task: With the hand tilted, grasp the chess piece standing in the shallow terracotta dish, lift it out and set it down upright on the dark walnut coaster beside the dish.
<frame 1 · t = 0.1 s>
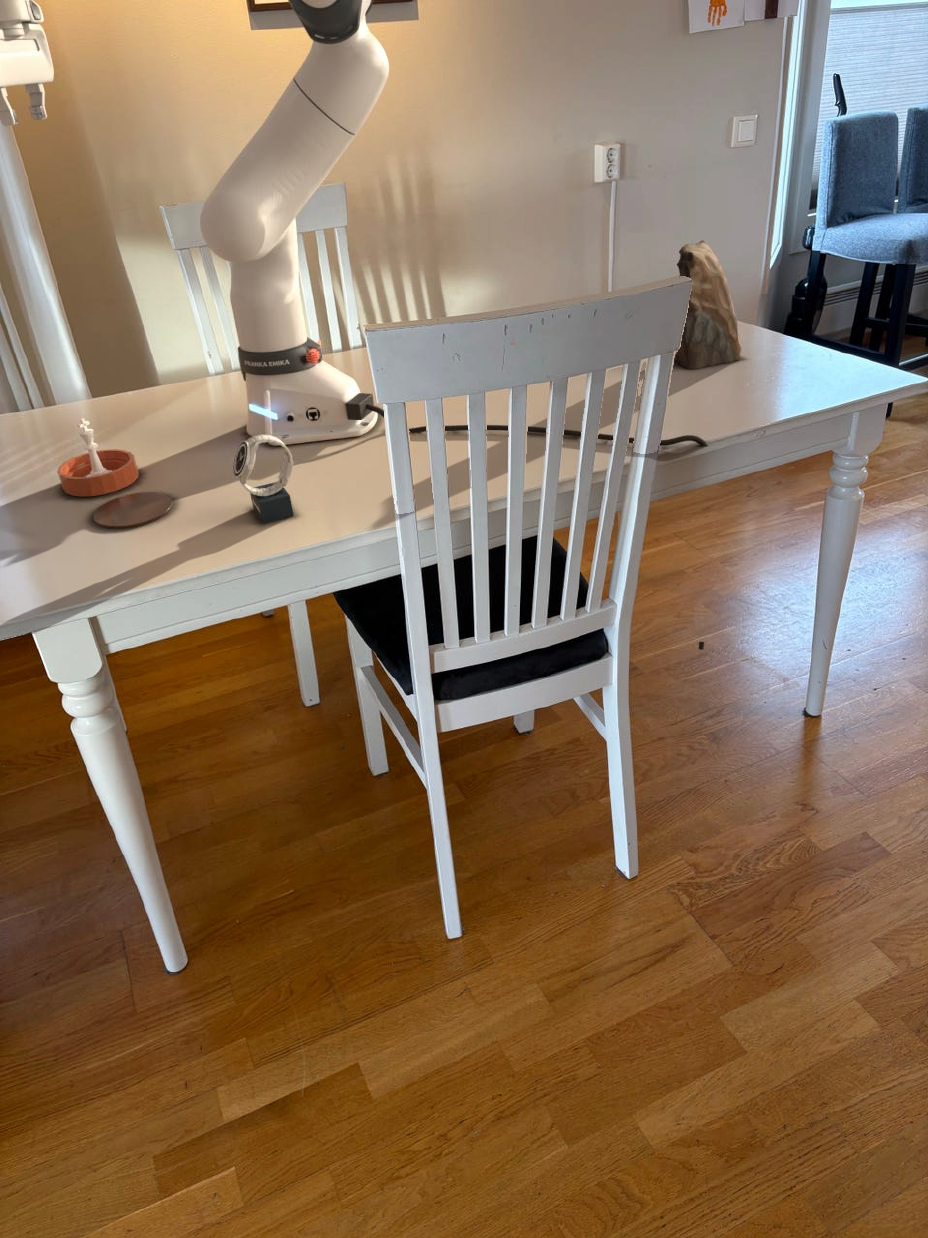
hand: (25, 122, 131), 48 cm above the table, tool pointing down, fingers open, 8 cm apart
dish: (101, 482, 139), on the table
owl: (704, 359, 170), on the table
coaster: (133, 511, 130), on the table
watch: (273, 513, 126), on the table
chess piece: (101, 481, 139), resting on dish
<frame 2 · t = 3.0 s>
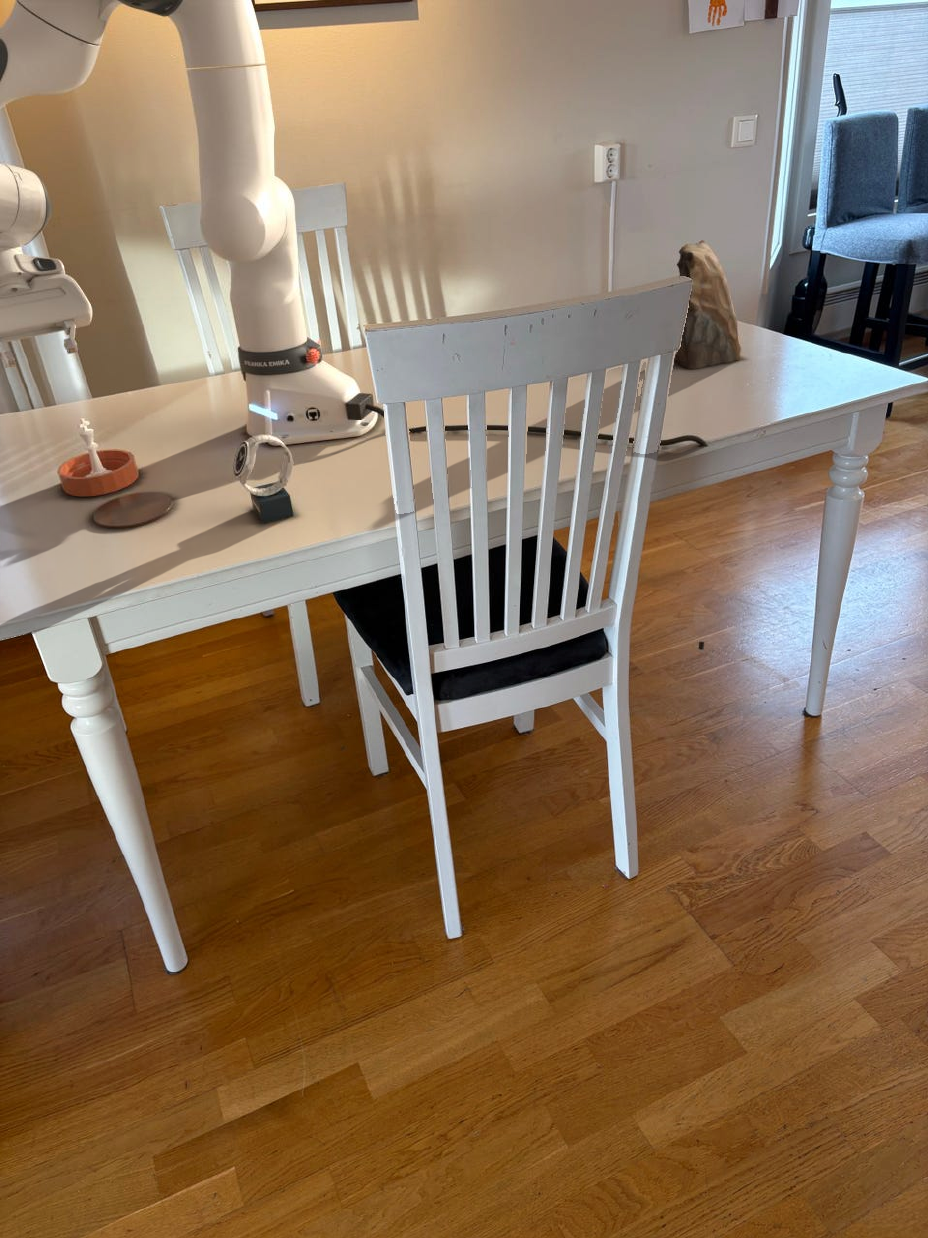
hand: (42, 357, 139), 17 cm above the table, tool tilted 45°, fingers open, 8 cm apart
nothing on the table moved.
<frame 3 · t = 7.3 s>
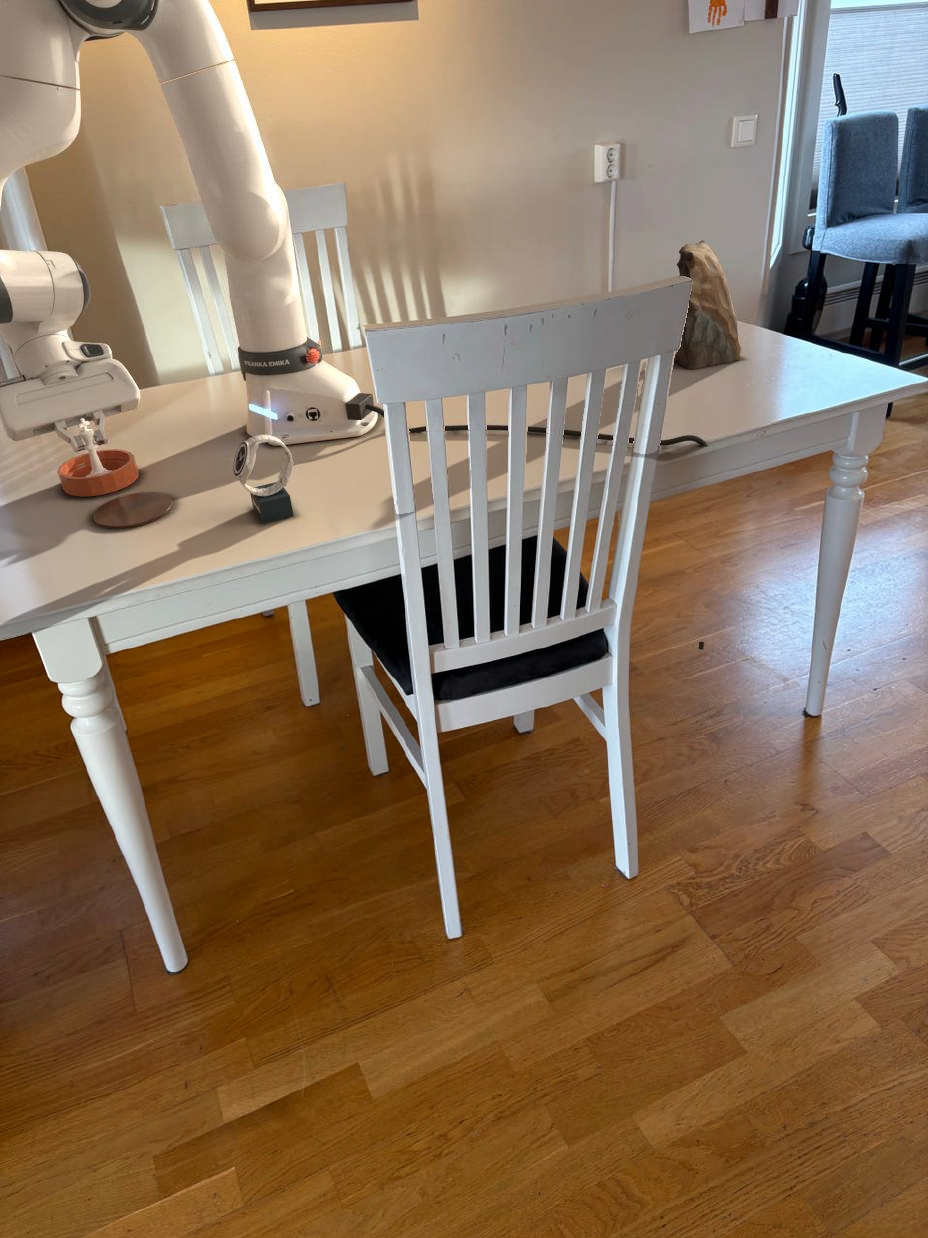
hand: (91, 446, 136), 6 cm above the table, tool tilted 45°, fingers closed on chess piece
chess piece: (101, 481, 139), resting on dish, touching gripper
everything else where it was.
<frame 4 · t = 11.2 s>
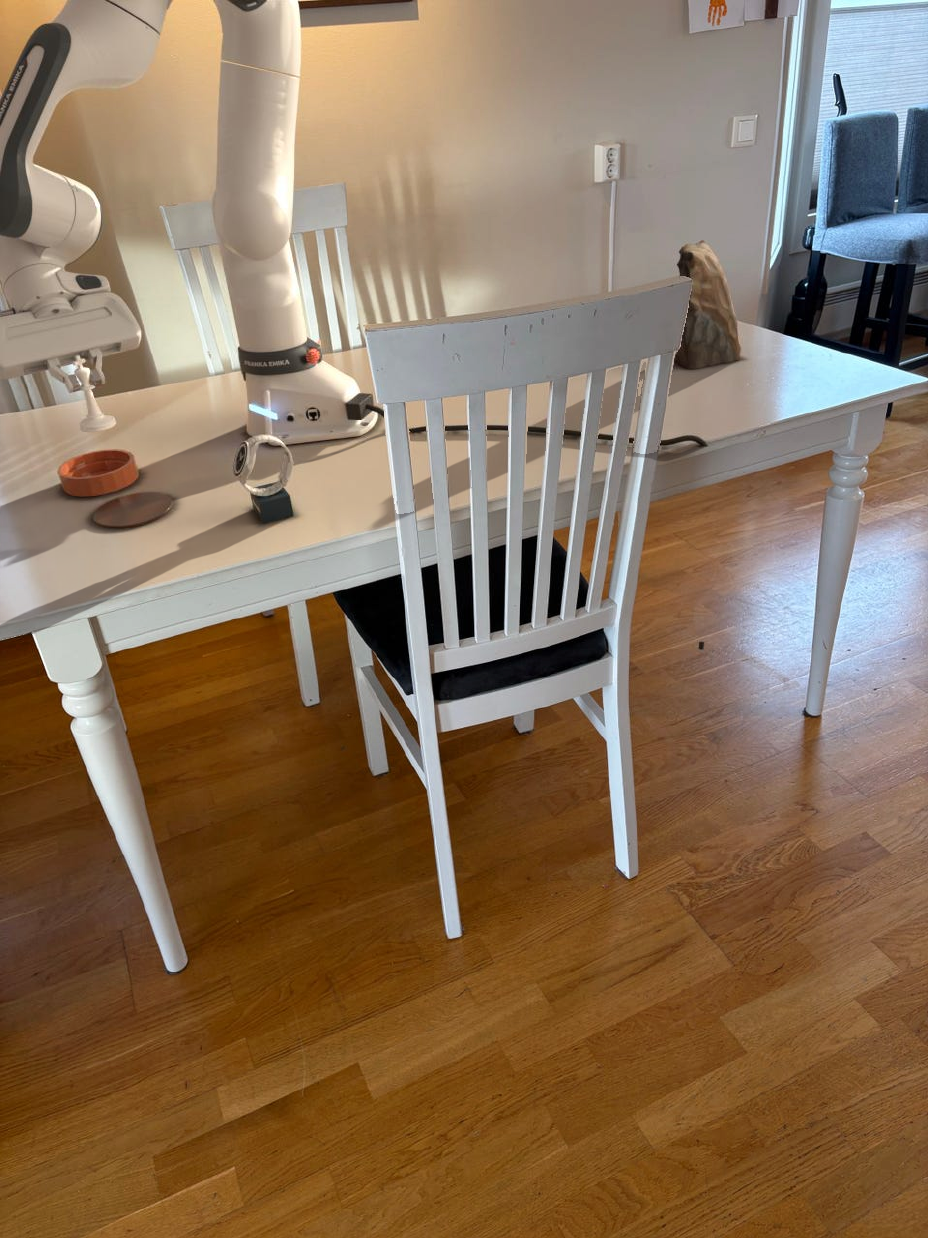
hand: (87, 386, 124), 17 cm above the table, tool tilted 45°, fingers closed on chess piece
chess piece: (98, 427, 127), point 11 cm above the table, touching gripper
everything else where it was.
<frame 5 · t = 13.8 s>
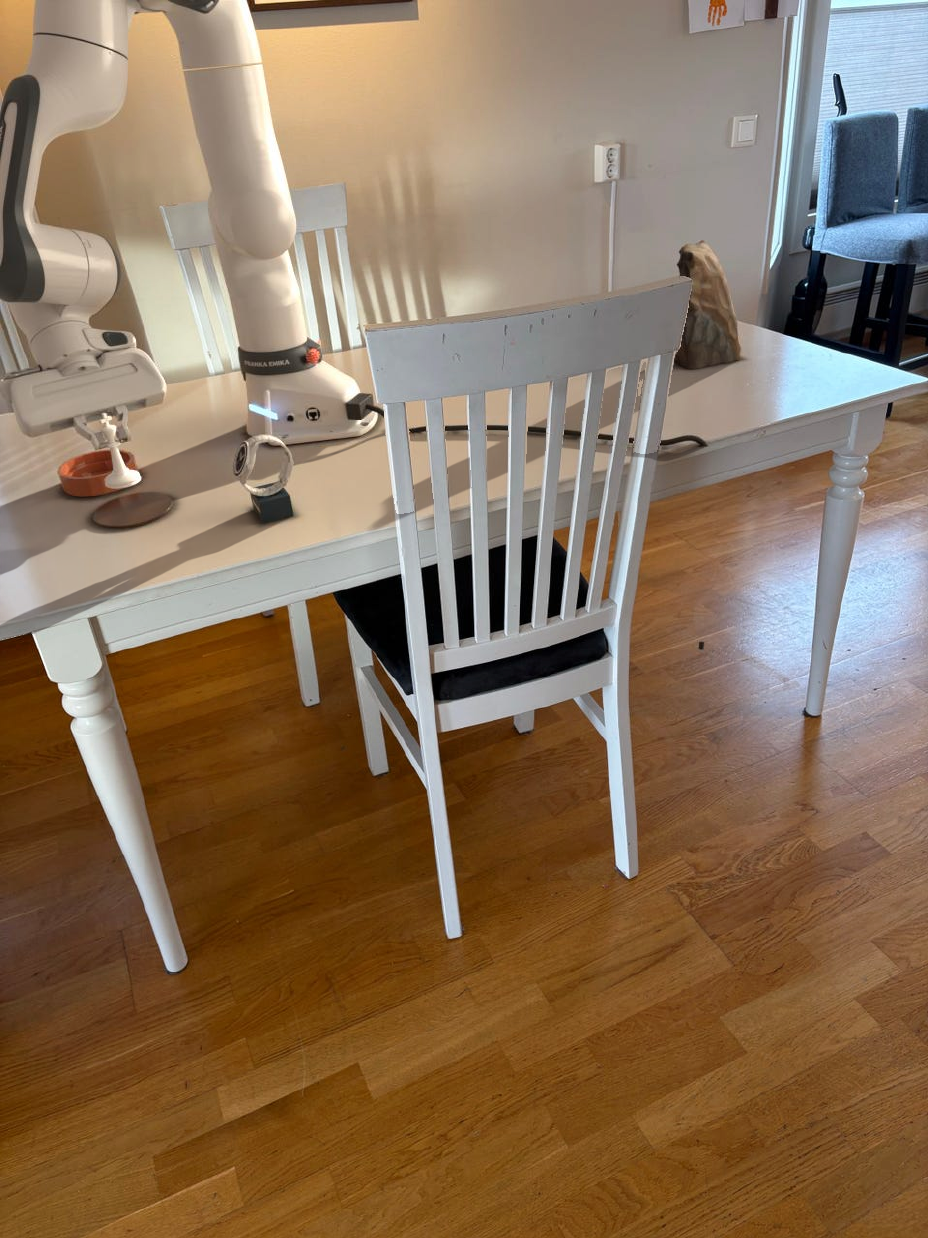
hand: (113, 443, 124), 11 cm above the table, tool tilted 45°, fingers closed on chess piece
chess piece: (123, 482, 127), point 4 cm above the table, touching gripper
everything else where it was.
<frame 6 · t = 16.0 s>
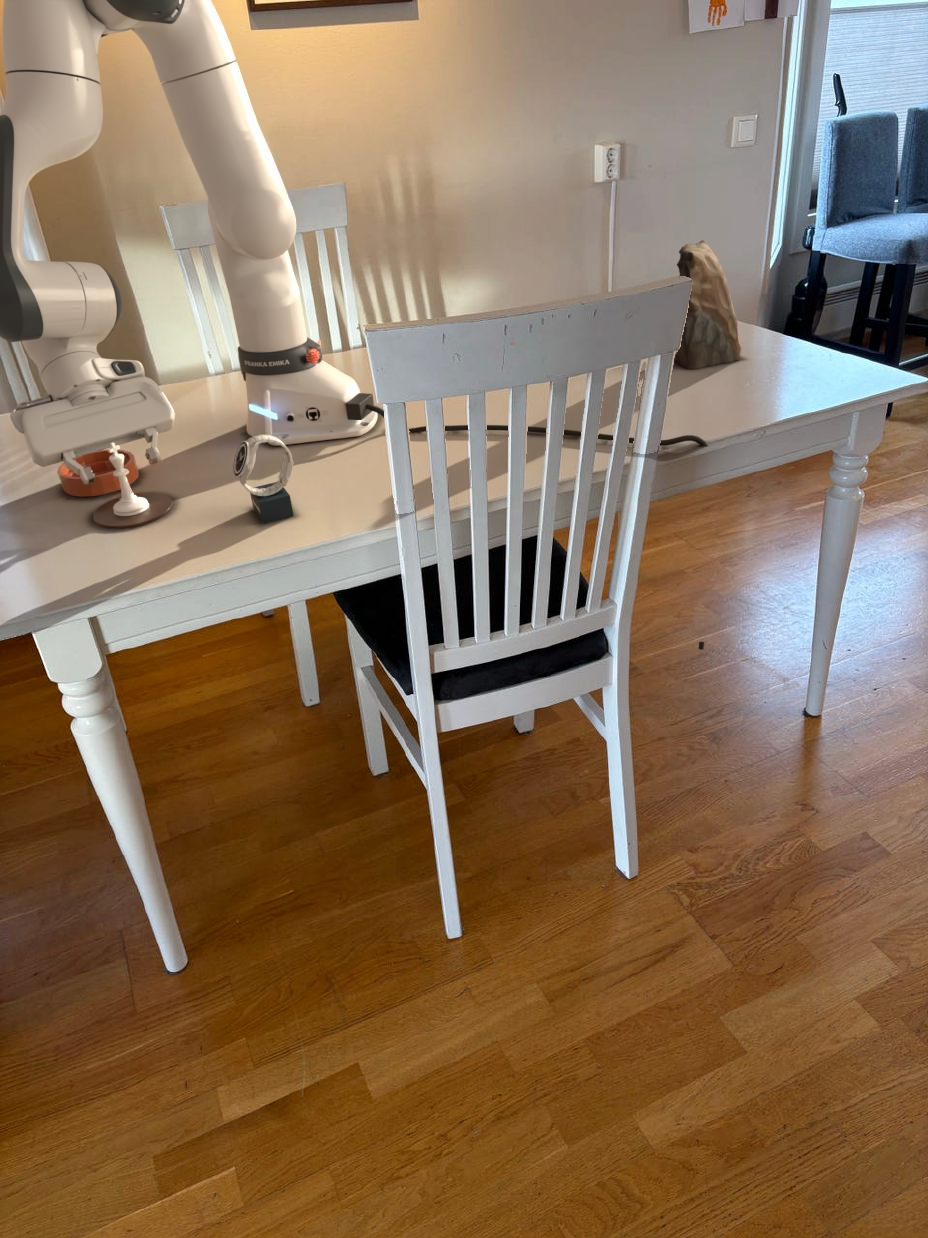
hand: (123, 471, 126), 6 cm above the table, tool tilted 45°, fingers open, 8 cm apart
chess piece: (132, 509, 130), resting on coaster
everything else where it was.
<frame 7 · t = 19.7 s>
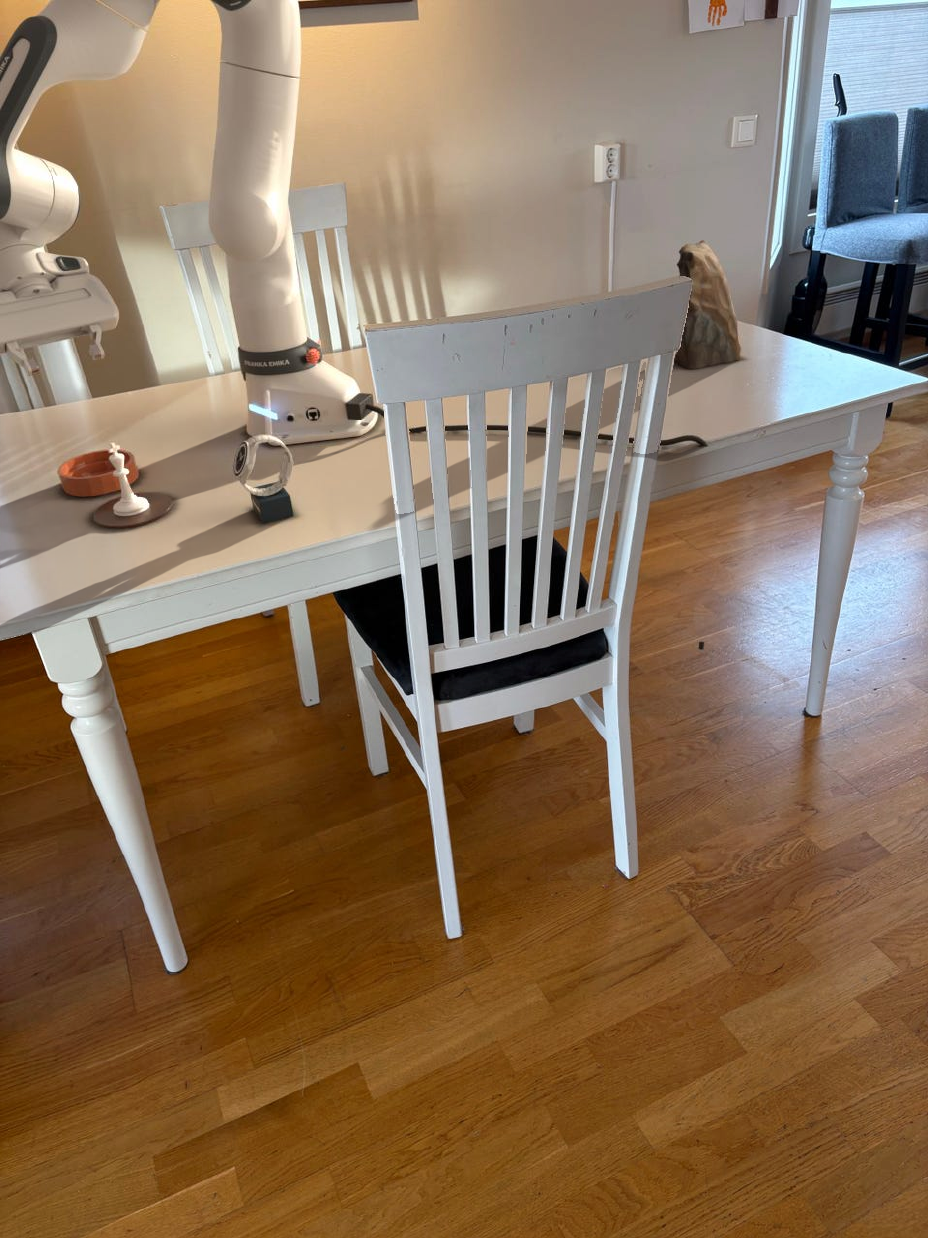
hand: (67, 365, 129), 18 cm above the table, tool tilted 40°, fingers open, 8 cm apart
nothing on the table moved.
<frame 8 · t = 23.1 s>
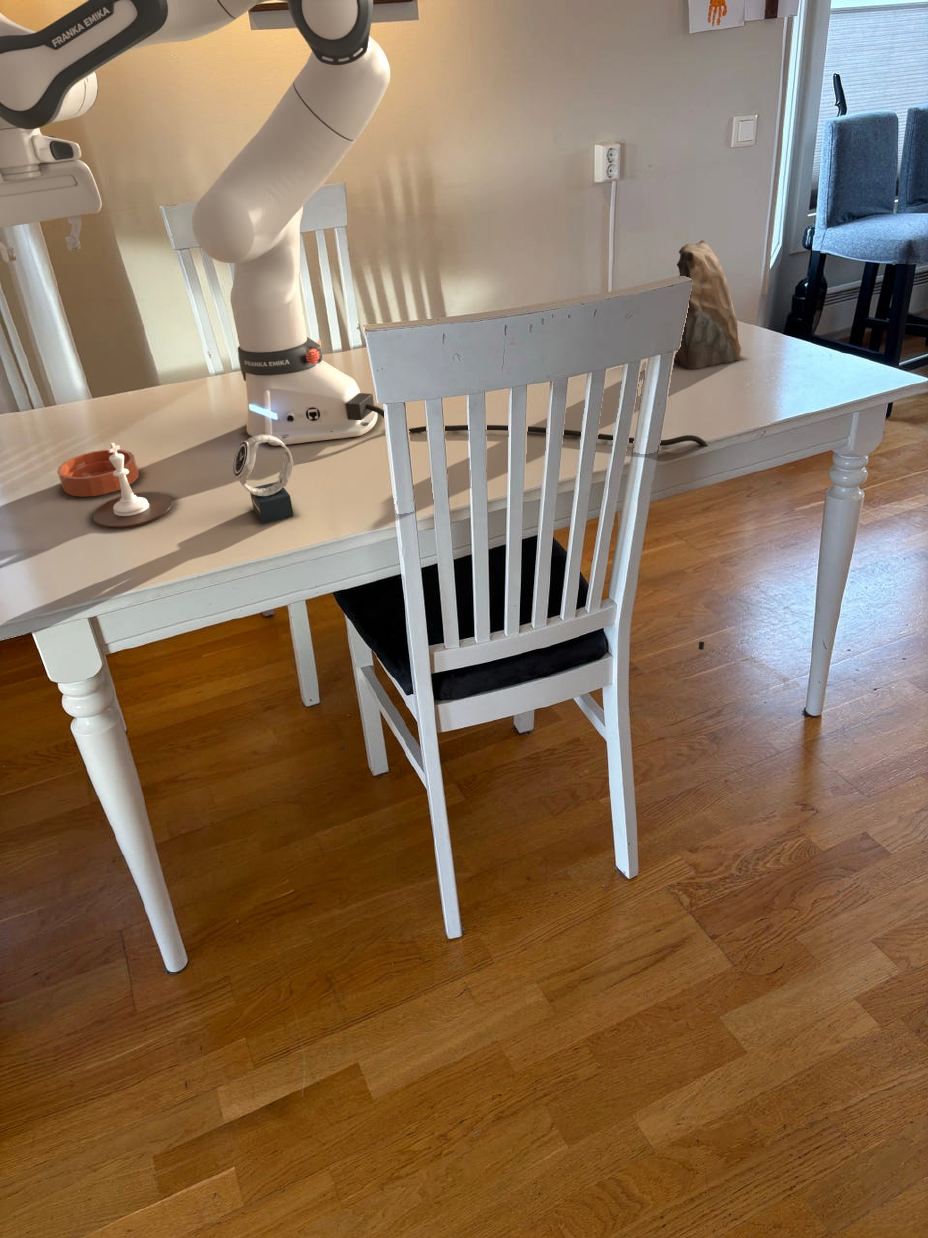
hand: (43, 255, 134), 31 cm above the table, tool pointing down, fingers open, 8 cm apart
nothing on the table moved.
at the end: chess piece 0.2 cm off-centre on the coaster, point 0.2 cm above the coaster's base; chess piece tilted 0°; the gripper is holding nothing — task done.
